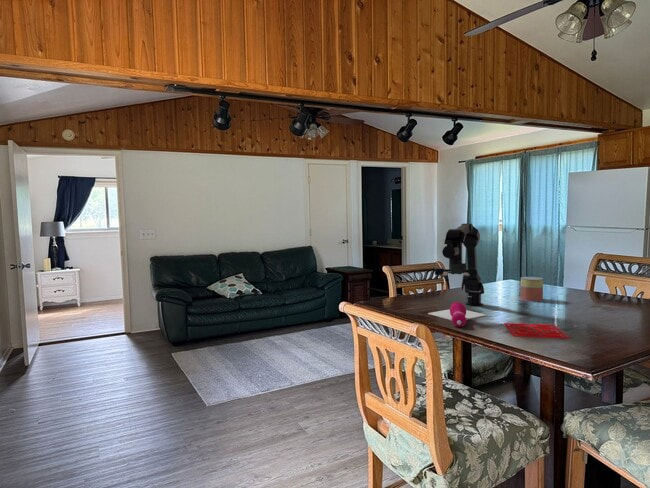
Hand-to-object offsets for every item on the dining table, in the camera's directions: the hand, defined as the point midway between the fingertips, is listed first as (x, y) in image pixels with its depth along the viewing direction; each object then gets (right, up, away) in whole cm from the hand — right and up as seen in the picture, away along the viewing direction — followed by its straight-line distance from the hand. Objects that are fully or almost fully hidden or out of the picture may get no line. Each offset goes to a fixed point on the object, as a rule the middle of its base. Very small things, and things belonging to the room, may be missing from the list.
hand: (455, 289), depth 200 cm
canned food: (+53, -10, +38) cm, 66 cm away
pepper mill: (+1, -9, 0) cm, 9 cm away
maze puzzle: (+25, -15, -23) cm, 37 cm away
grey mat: (+2, -13, +6) cm, 14 cm away
